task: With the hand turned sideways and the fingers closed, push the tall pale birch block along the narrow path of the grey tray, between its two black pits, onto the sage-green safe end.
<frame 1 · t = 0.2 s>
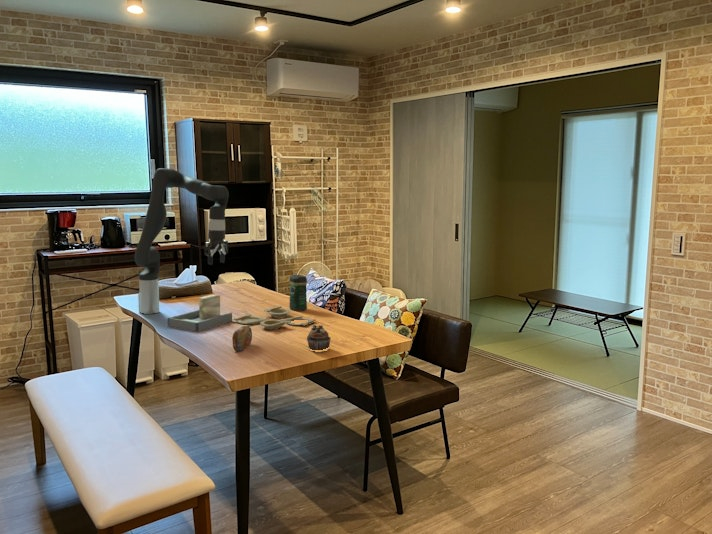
hand: (216, 263, 268), 29 cm above the table, tool pointing down, fingers open, 8 cm apart
birch block: (210, 316, 278), point 2 cm above the table, touching grey tray
coffee jar: (298, 309, 306), on the table
grey tray: (200, 323, 272), on the table
cupcake: (318, 350, 234), on the table
tableware set: (275, 323, 278), on the table
brown flat stone: (242, 348, 235), on the table
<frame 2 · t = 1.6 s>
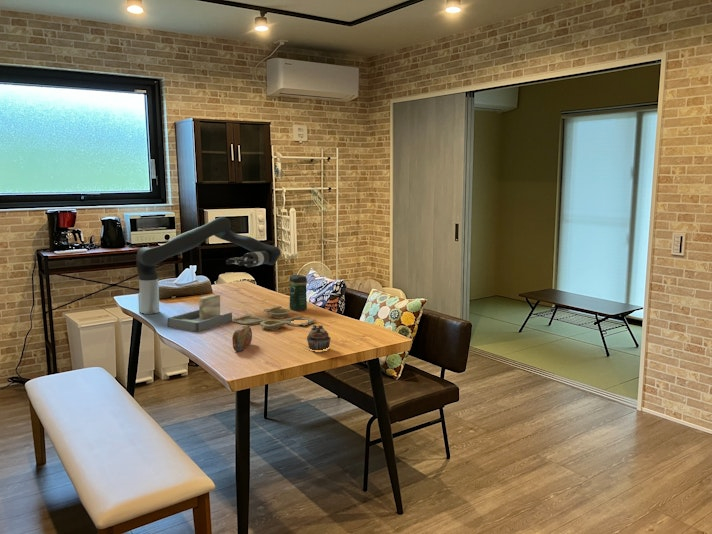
hand: (232, 263, 289), 26 cm above the table, tool horizontal, fingers open, 7 cm apart
nothing on the table moved.
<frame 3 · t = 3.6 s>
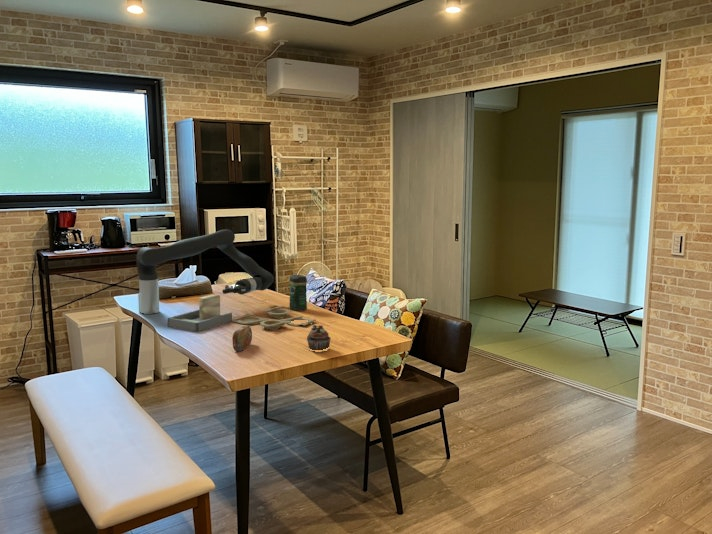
hand: (223, 291, 285), 13 cm above the table, tool horizontal, fingers closed
nothing on the table moved.
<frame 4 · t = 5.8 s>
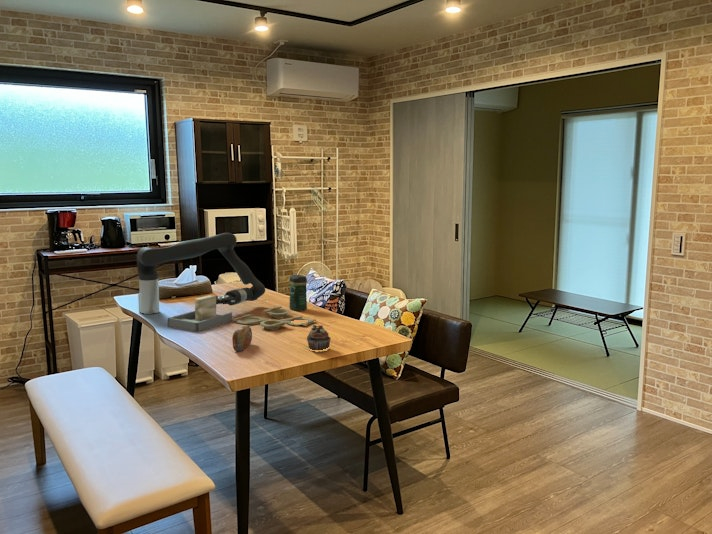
hand: (212, 302, 279), 9 cm above the table, tool horizontal, fingers closed
birch block: (206, 317, 275), point 2 cm above the table, touching grey tray
everything else where it was.
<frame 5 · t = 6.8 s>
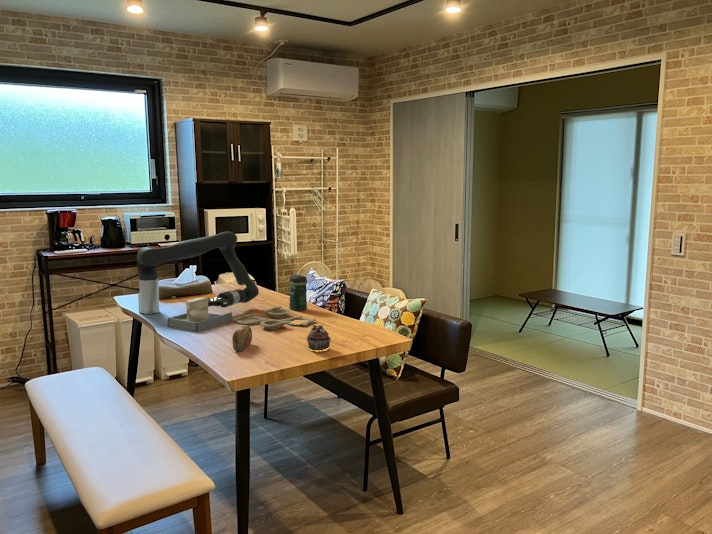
hand: (204, 304, 274), 9 cm above the table, tool horizontal, fingers closed
birch block: (197, 320, 270), point 2 cm above the table, touching grey tray
everything else where it was.
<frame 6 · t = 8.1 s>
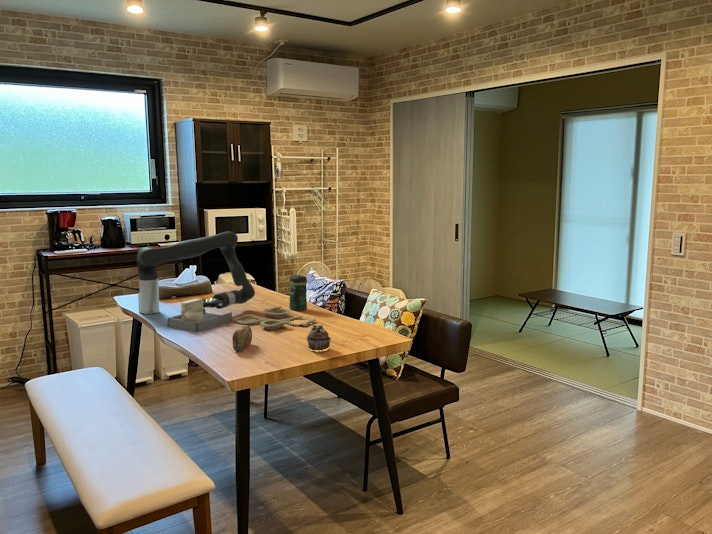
hand: (199, 306, 271), 9 cm above the table, tool horizontal, fingers closed
birch block: (192, 322, 267), point 2 cm above the table, touching gripper, grey tray
everything else where it was.
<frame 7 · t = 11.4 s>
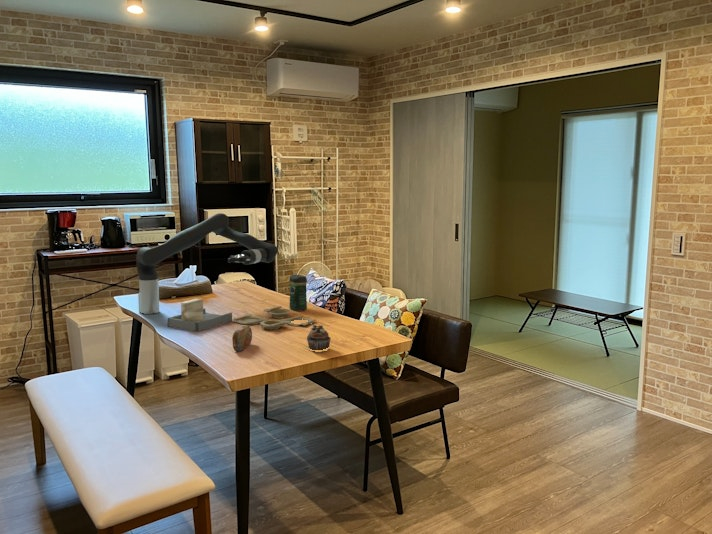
hand: (228, 260, 287), 28 cm above the table, tool horizontal, fingers closed
birch block: (192, 322, 267), point 2 cm above the table, touching grey tray
everything else where it was.
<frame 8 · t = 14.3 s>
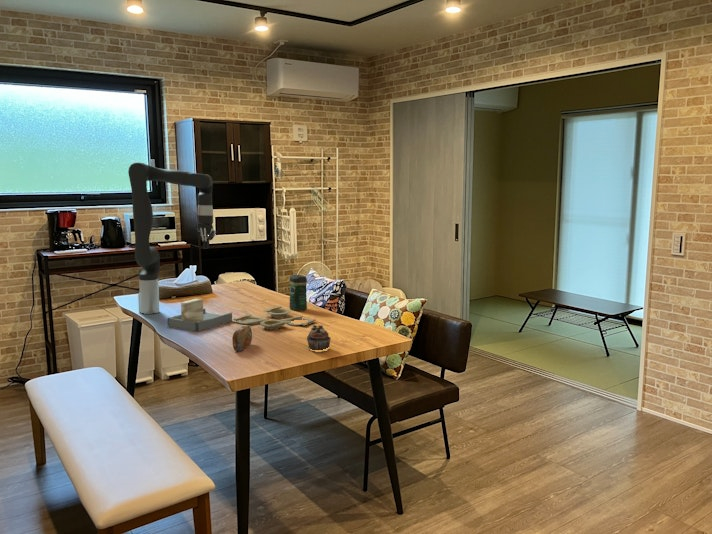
hand: (206, 248, 291), 33 cm above the table, tool pointing down, fingers closed
nothing on the table moved.
at the end: birch block 0.8 cm from the target spot on the grey tray, point 2.0 cm above the grey tray's base; birch block tilted 0° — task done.
